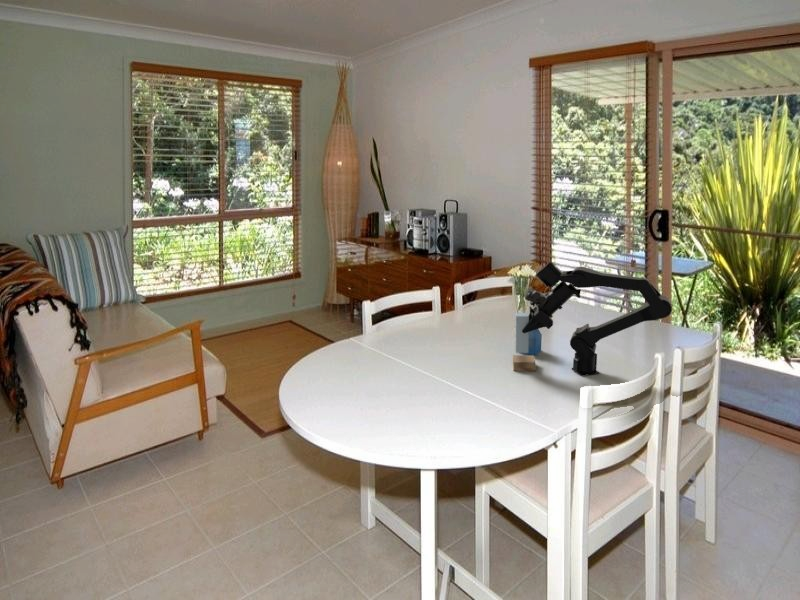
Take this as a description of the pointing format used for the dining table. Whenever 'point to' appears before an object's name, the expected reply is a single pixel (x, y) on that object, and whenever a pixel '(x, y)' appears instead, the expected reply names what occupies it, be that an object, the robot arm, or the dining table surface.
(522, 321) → the slate-blue post
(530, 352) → the perfume bottle
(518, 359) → the walnut plinth
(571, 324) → the dining table surface
